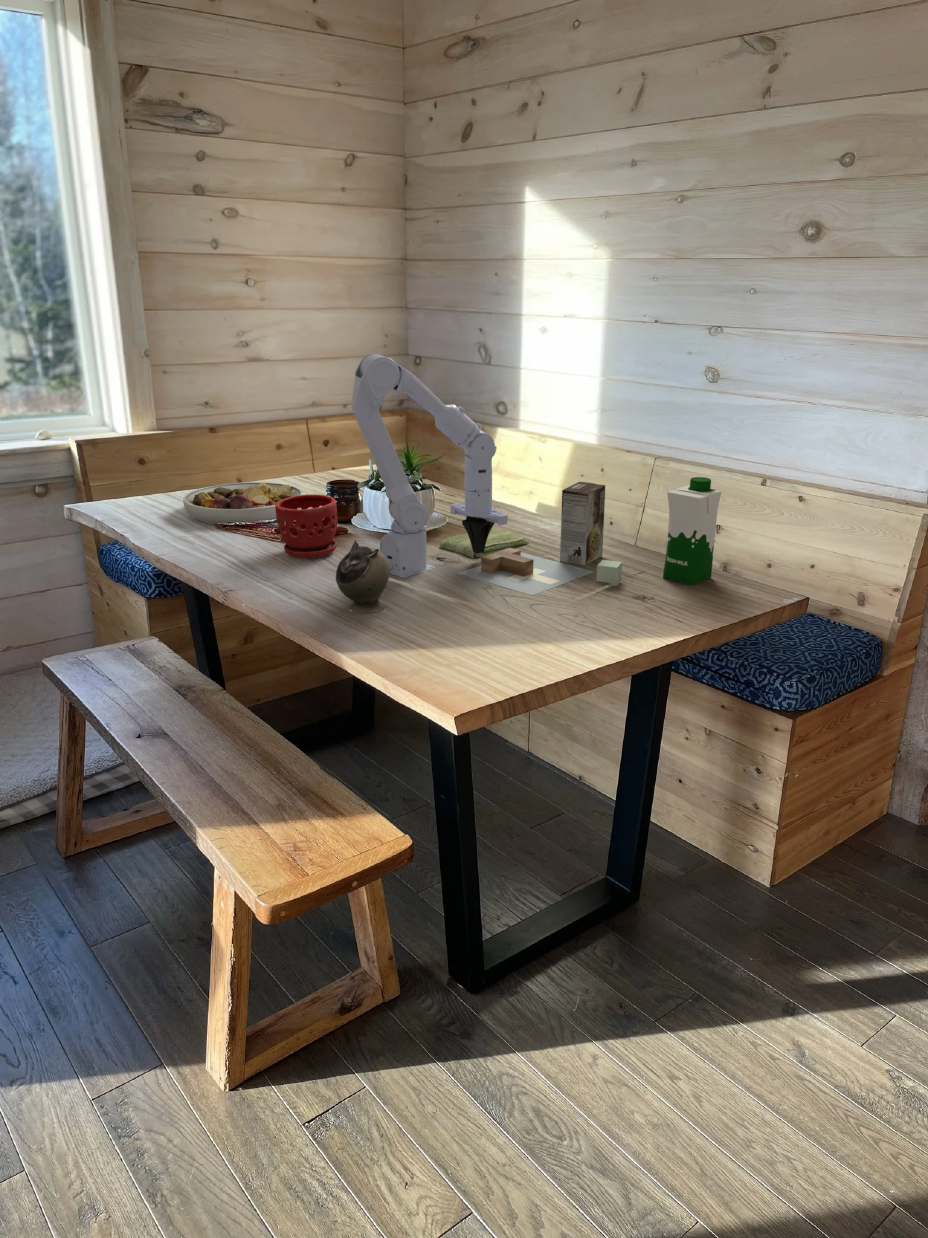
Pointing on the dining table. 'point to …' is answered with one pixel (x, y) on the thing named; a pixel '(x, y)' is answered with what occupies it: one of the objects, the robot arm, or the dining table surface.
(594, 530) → the coffee box
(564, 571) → the board
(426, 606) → the dining table surface
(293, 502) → the plant pot
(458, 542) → the washcloth
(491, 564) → the tee block
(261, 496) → the bowl
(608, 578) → the sage cube
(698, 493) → the milk carton
